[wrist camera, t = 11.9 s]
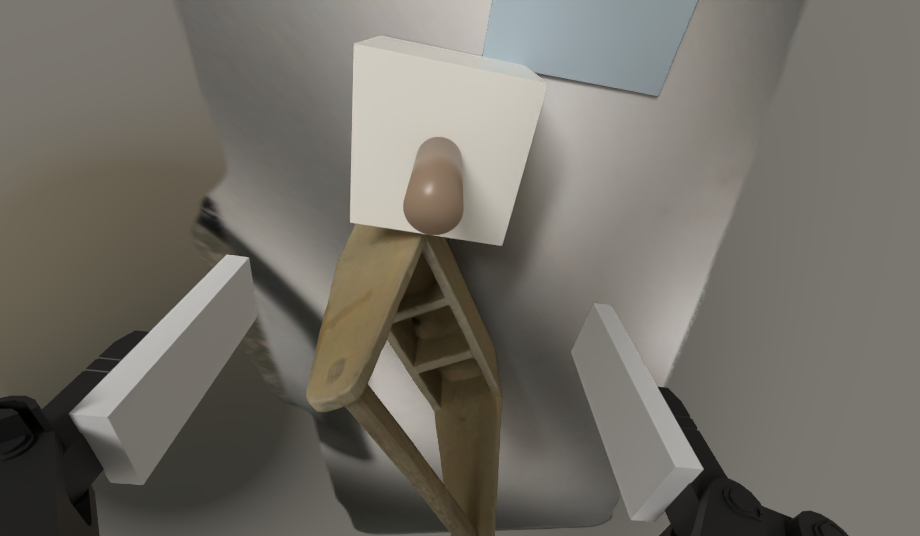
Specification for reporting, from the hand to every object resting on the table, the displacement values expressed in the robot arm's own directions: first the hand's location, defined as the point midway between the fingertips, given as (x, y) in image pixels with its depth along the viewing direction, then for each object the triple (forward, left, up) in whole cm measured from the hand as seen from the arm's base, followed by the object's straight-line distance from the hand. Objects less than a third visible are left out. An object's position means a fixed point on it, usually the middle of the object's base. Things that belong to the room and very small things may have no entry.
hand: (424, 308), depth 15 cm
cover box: (0, 0, -34) cm, 34 cm away
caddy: (+24, +2, -34) cm, 42 cm away
